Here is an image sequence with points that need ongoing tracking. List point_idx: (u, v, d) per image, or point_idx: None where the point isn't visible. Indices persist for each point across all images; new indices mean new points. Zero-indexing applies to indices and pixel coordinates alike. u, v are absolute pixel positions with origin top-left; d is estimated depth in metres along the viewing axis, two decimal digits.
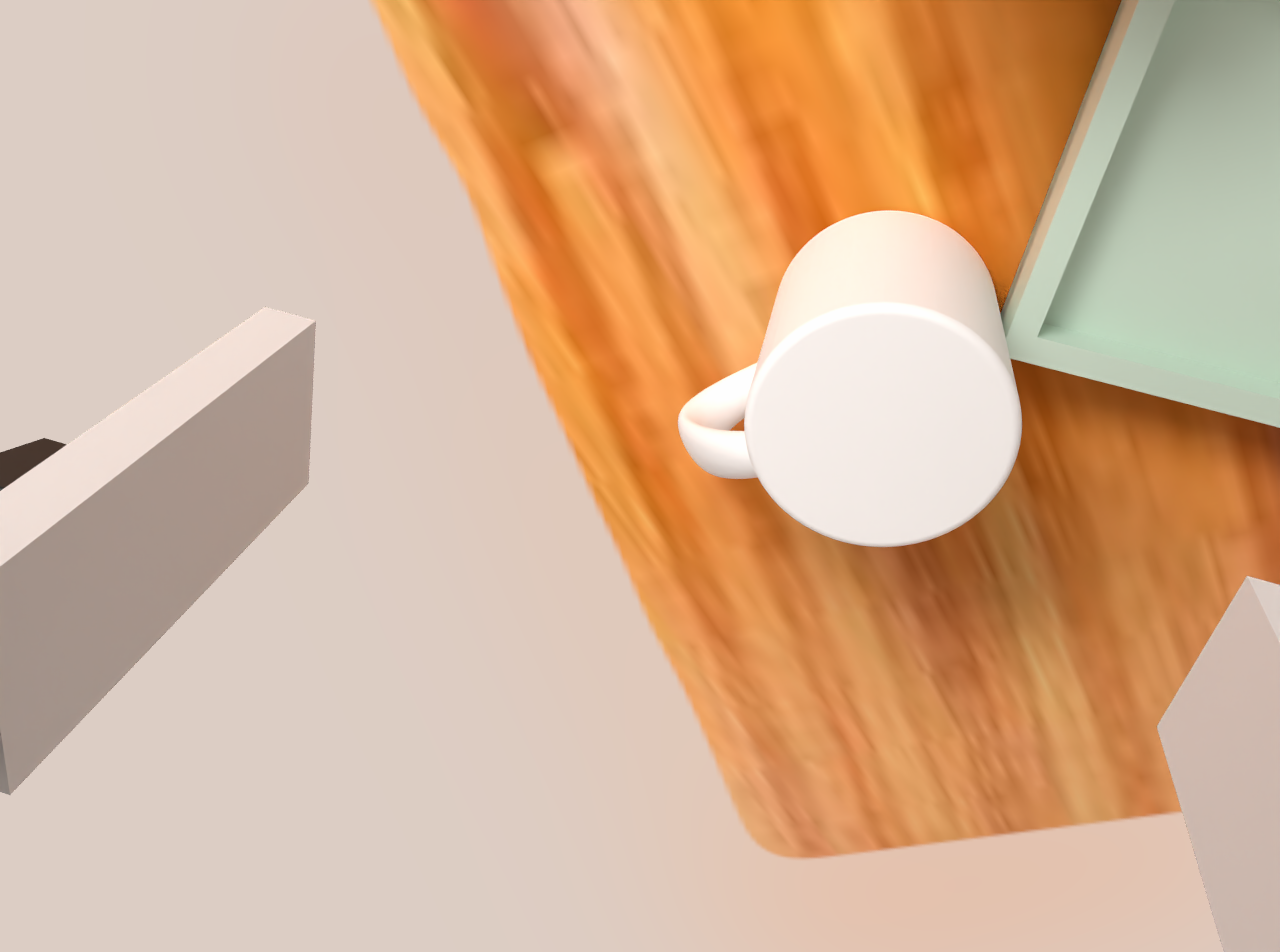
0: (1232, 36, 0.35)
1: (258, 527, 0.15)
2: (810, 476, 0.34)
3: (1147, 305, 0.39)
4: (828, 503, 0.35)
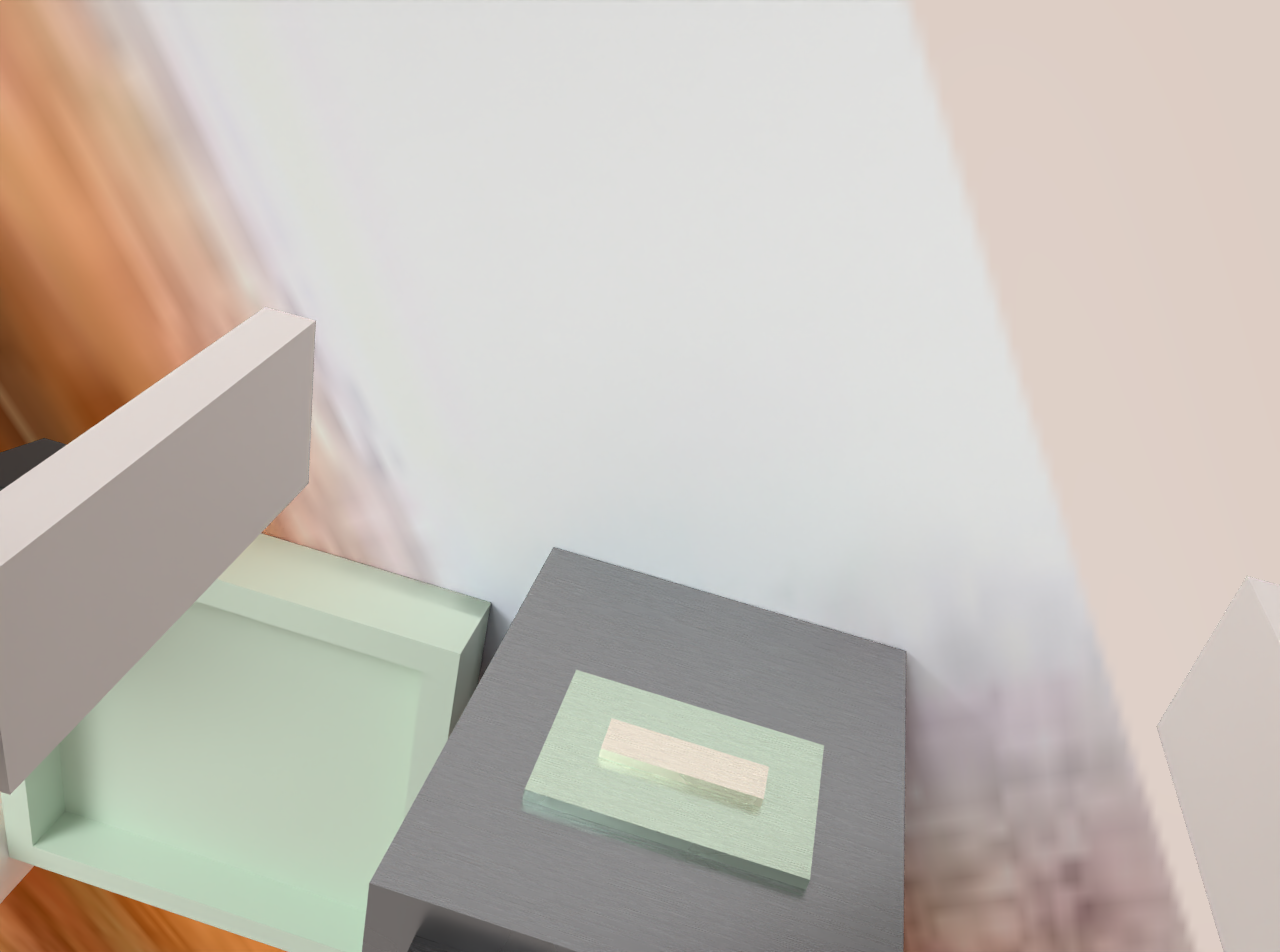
0: None
1: (258, 527, 0.15)
2: None
3: (155, 810, 0.38)
4: None
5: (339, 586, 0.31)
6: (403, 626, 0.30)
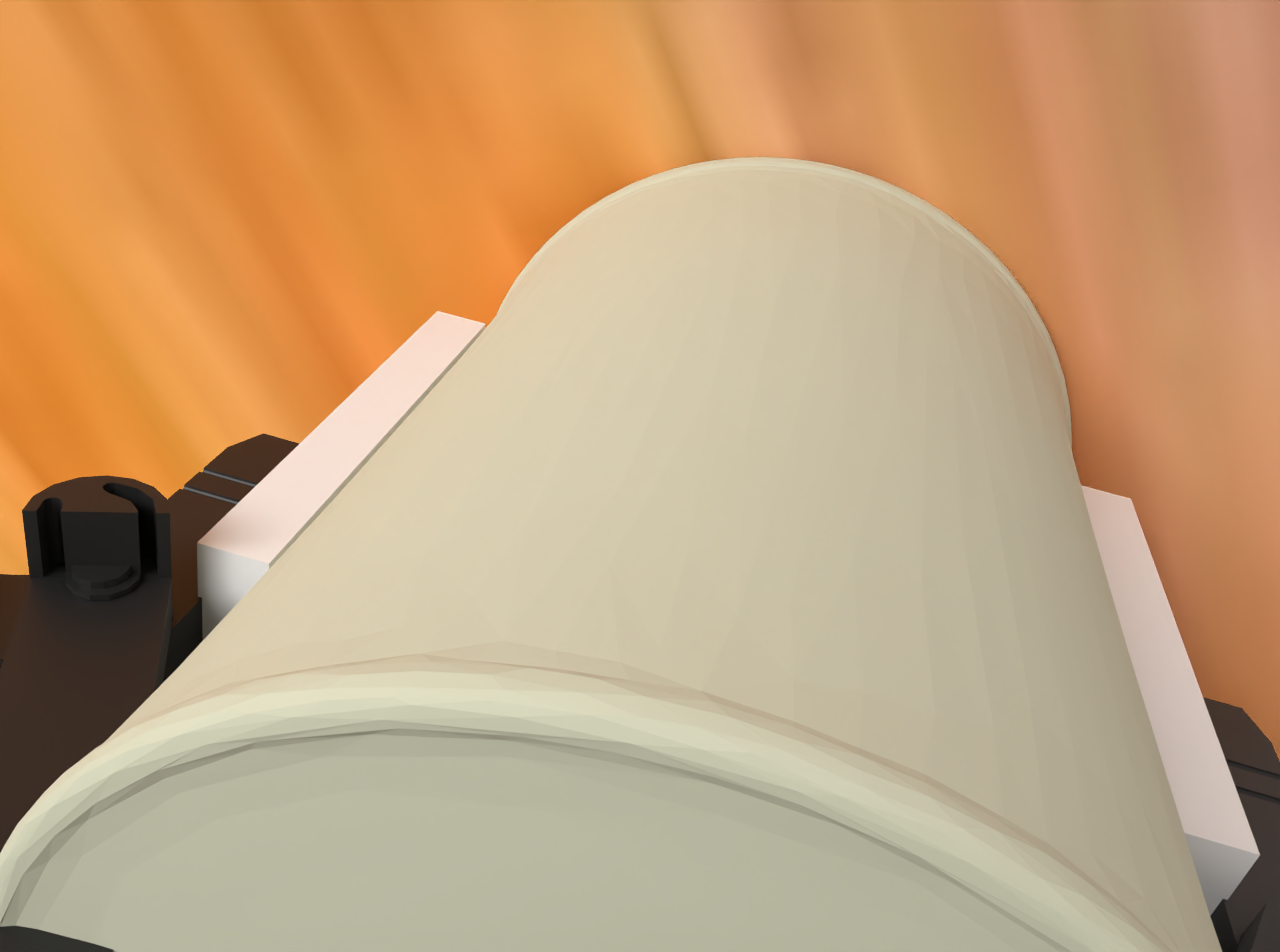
0: None
1: None
2: None
3: None
4: None
5: None
6: None
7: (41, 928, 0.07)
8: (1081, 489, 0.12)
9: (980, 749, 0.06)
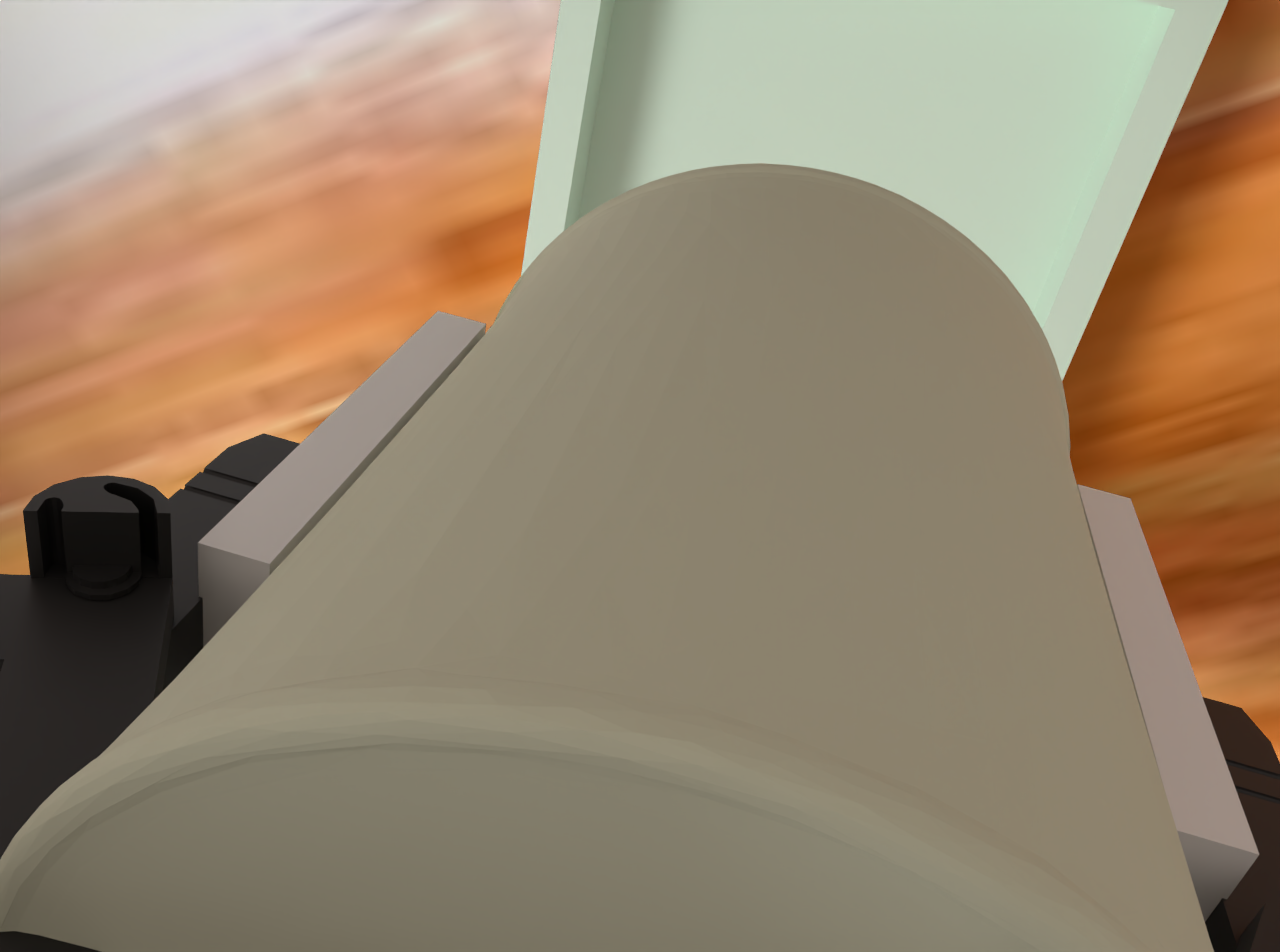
0: None
1: None
2: None
3: None
4: None
5: None
6: None
7: None
8: (1078, 496, 0.12)
9: (974, 762, 0.06)
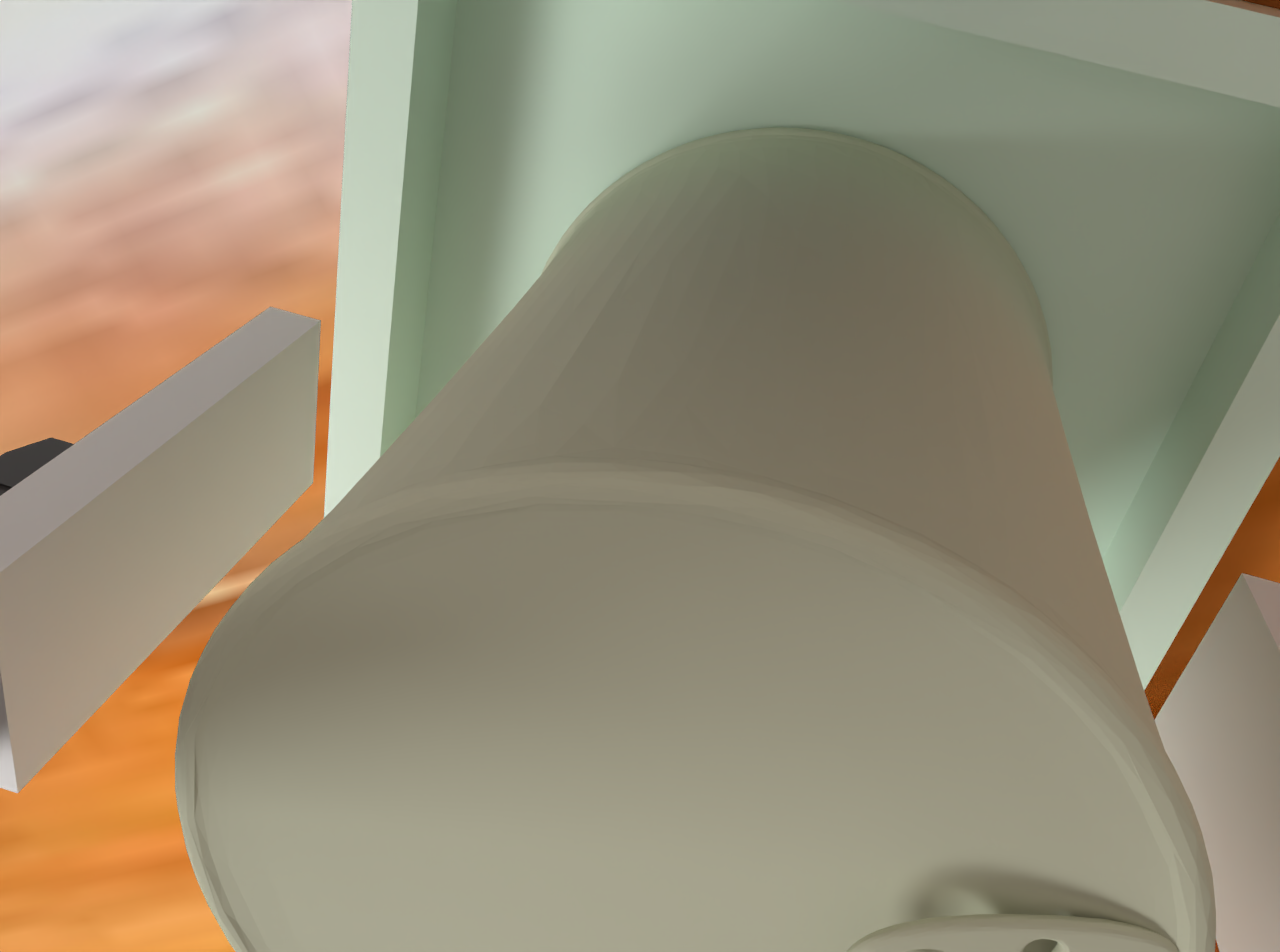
0: None
1: (263, 526, 0.15)
2: None
3: None
4: None
5: None
6: None
7: (238, 699, 0.09)
8: (1056, 405, 0.14)
9: (963, 529, 0.08)
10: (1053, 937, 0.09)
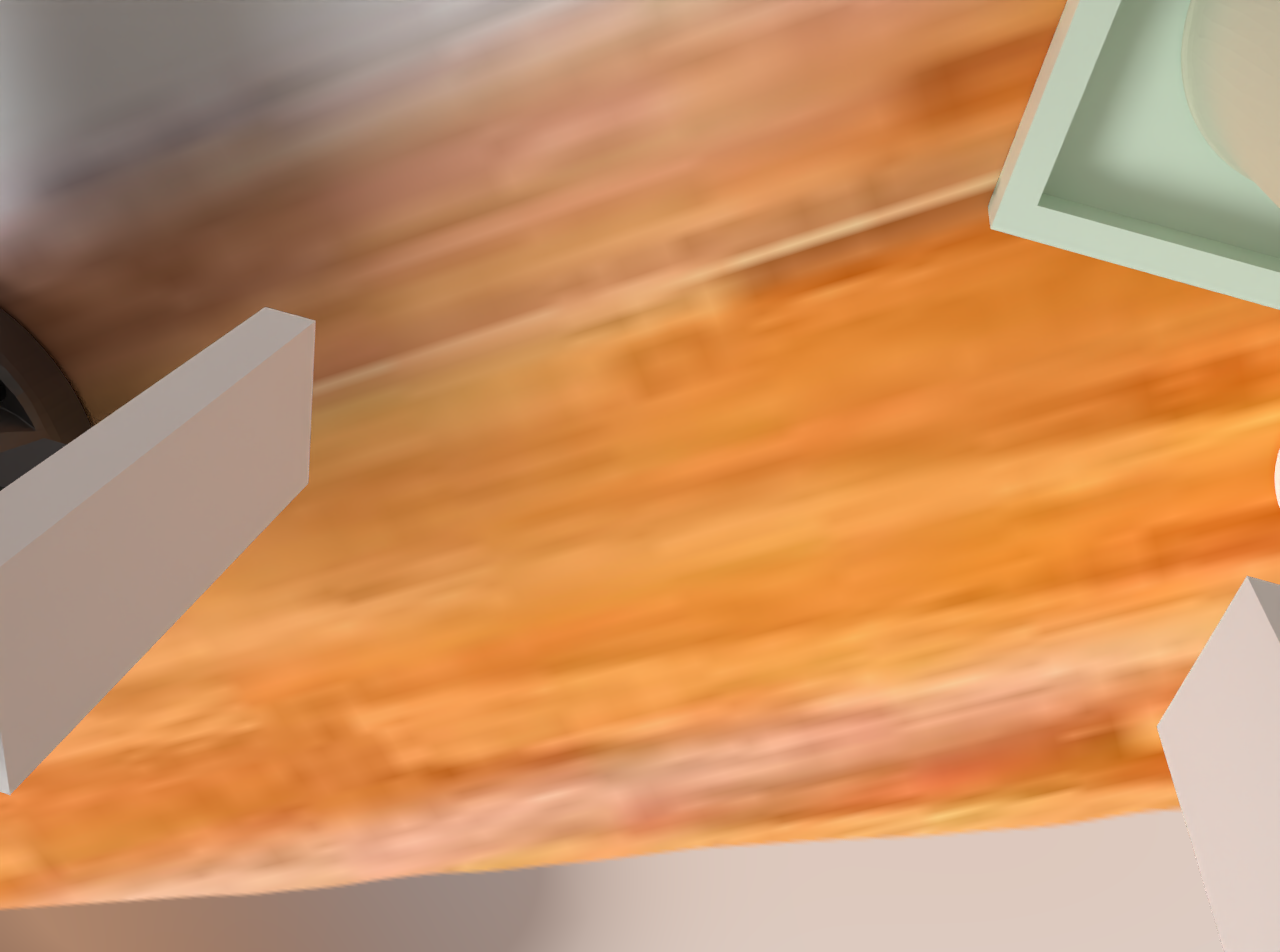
0: (1152, 131, 0.32)
1: (258, 527, 0.15)
2: None
3: None
4: None
5: None
6: None
7: None
8: None
9: None
10: None
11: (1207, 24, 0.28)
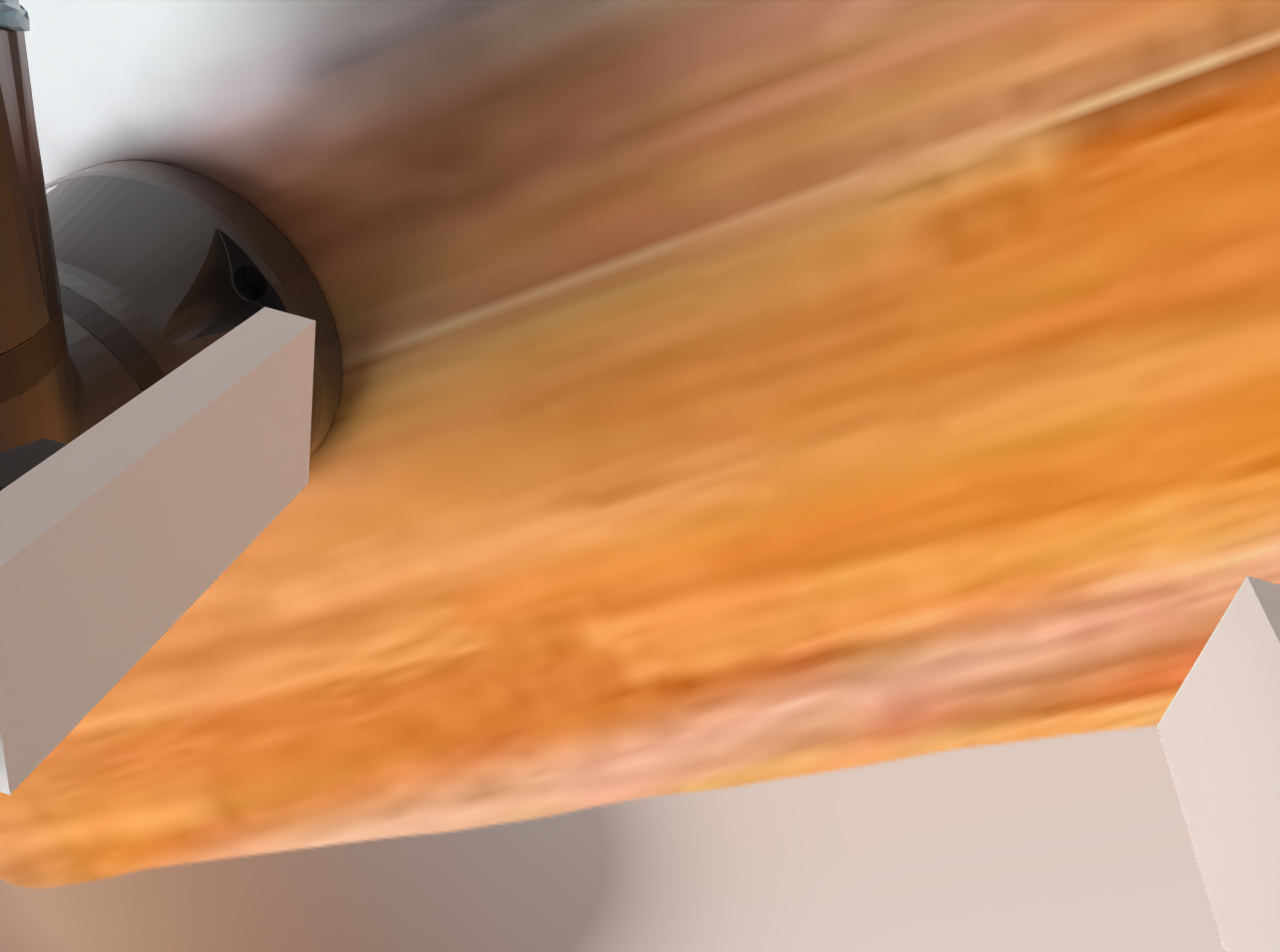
0: None
1: (258, 527, 0.15)
2: None
3: None
4: None
5: None
6: None
7: None
8: None
9: None
10: None
11: None
